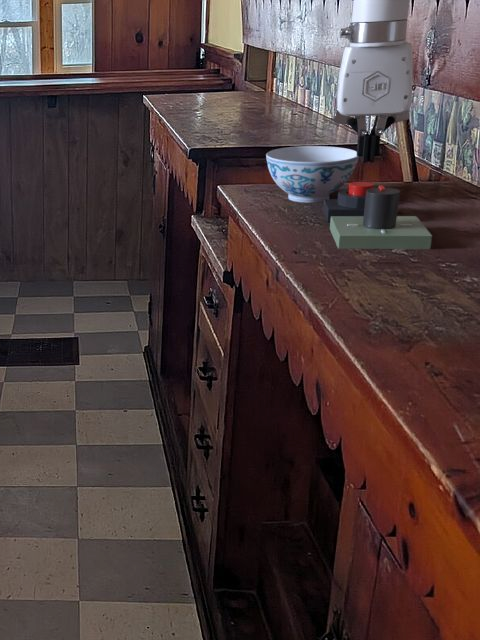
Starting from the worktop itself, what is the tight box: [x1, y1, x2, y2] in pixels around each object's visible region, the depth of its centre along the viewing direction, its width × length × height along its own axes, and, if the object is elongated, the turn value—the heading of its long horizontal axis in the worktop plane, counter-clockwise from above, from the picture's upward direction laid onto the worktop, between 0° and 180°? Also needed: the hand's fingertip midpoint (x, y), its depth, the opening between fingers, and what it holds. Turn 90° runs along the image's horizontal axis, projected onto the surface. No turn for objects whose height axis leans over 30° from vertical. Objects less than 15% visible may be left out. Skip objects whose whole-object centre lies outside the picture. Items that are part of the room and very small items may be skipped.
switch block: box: [322, 188, 366, 224], centre depth 136 cm, size 10×7×4 cm
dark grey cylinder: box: [363, 184, 401, 229], centre depth 124 cm, size 4×4×5 cm
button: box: [348, 181, 375, 196], centre depth 135 cm, size 4×4×2 cm
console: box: [329, 215, 433, 250], centre depth 125 cm, size 12×11×2 cm
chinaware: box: [265, 145, 360, 204], centre depth 149 cm, size 15×15×8 cm
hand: (366, 160), depth 133 cm, fingers closed
